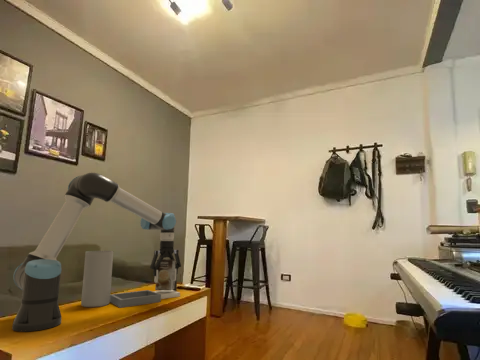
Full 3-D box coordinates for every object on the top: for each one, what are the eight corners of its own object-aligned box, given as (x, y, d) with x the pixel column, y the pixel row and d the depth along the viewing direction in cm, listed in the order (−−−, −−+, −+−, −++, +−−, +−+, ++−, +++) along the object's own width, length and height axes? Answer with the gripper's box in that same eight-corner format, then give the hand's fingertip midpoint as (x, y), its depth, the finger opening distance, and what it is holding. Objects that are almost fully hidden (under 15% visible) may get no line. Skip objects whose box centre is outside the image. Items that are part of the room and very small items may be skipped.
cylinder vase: (111, 301, 154) (114, 250, 159) (107, 306, 143) (111, 251, 147) (84, 302, 151) (88, 250, 156) (78, 308, 139) (83, 252, 144)
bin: (120, 307, 141) (120, 299, 141) (109, 301, 153) (109, 294, 153) (160, 301, 153) (160, 294, 154) (147, 296, 165) (148, 289, 166)
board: (159, 299, 159) (159, 295, 159) (149, 295, 168) (150, 291, 168) (179, 296, 166) (180, 292, 167) (169, 293, 175) (169, 289, 176)
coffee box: (154, 290, 165) (156, 259, 168) (158, 288, 171) (160, 259, 174) (171, 290, 164) (172, 260, 167) (174, 288, 170) (175, 259, 173)
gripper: (150, 240, 162) (148, 284, 158) (188, 240, 177) (186, 280, 173) (144, 240, 168) (142, 282, 164) (181, 240, 182) (180, 278, 178)
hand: (165, 281), depth 168 cm, fingers closed on coffee box, 10 cm apart
